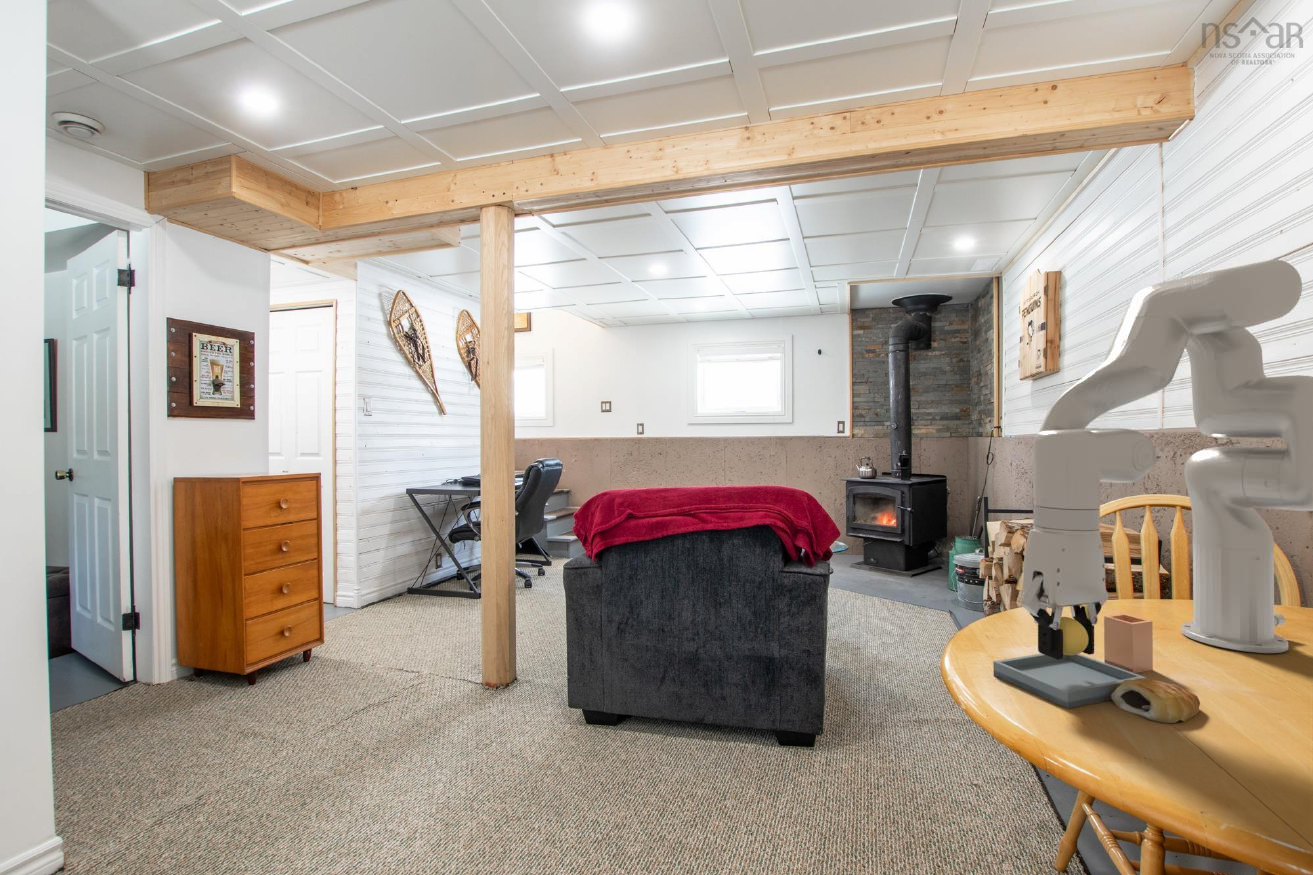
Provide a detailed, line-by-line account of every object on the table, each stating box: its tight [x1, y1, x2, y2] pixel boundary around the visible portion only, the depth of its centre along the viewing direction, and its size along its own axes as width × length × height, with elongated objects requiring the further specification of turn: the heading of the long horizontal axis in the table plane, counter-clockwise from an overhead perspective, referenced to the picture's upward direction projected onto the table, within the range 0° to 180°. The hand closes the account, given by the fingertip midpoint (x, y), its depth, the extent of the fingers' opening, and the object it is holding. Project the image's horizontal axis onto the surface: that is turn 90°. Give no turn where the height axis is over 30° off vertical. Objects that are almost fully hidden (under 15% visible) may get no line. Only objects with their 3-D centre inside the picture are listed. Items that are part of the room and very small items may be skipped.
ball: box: [1059, 616, 1088, 655], centre depth 82 cm, size 5×5×5 cm
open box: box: [1103, 613, 1154, 674], centre depth 88 cm, size 4×4×7 cm
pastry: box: [1111, 678, 1201, 724], centre depth 74 cm, size 9×7×4 cm
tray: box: [992, 653, 1148, 710], centre depth 82 cm, size 14×11×2 cm
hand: (1065, 652), depth 82 cm, fingers closed on ball, 4 cm apart
